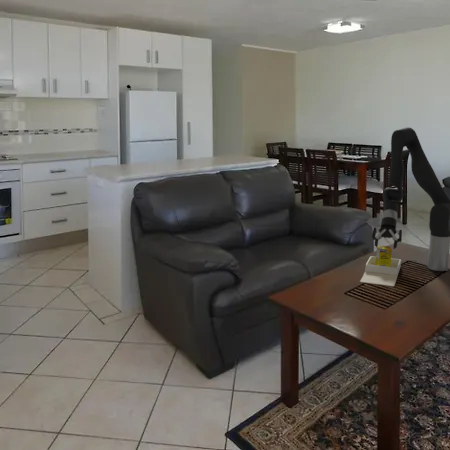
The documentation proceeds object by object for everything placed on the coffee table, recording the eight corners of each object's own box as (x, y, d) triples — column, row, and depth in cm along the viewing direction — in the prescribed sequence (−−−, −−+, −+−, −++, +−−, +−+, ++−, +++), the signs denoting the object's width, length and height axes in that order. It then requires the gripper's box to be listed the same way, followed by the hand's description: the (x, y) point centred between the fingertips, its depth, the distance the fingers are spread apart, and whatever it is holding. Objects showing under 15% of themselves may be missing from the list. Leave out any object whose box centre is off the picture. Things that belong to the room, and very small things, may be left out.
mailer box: (400, 266, 239) (401, 259, 238) (393, 286, 212) (394, 278, 211) (370, 263, 245) (370, 256, 244) (359, 282, 218) (360, 274, 217)
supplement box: (390, 270, 232) (392, 249, 230) (378, 270, 233) (379, 249, 230) (387, 266, 238) (388, 245, 235) (375, 266, 238) (376, 245, 236)
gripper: (374, 215, 244) (370, 242, 237) (403, 217, 238) (400, 244, 231) (375, 223, 250) (371, 249, 243) (403, 225, 244) (400, 252, 237)
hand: (385, 247), depth 237 cm, fingers open, 8 cm apart
